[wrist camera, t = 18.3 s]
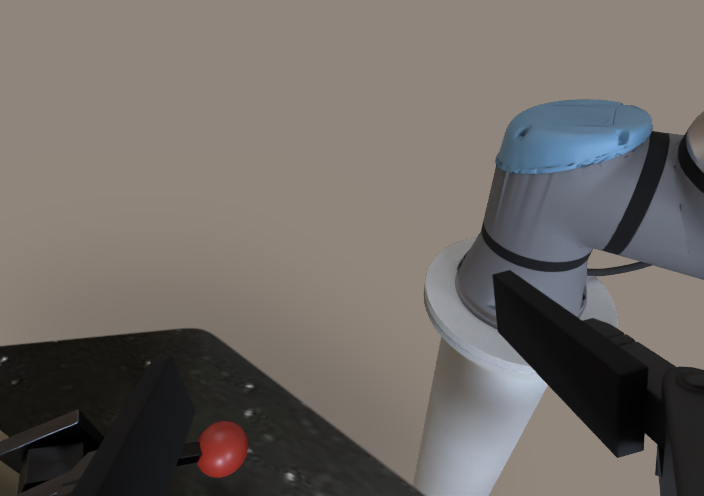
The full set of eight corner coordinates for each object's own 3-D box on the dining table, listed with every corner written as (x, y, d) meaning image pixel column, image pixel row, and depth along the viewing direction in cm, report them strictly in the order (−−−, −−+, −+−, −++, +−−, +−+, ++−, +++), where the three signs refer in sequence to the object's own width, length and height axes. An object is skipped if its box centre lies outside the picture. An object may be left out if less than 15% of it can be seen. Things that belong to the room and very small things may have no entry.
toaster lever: (229, 439, 34) (247, 408, 33) (241, 483, 31) (262, 451, 30) (18, 468, 25) (33, 426, 24) (9, 534, 22) (25, 491, 21)
